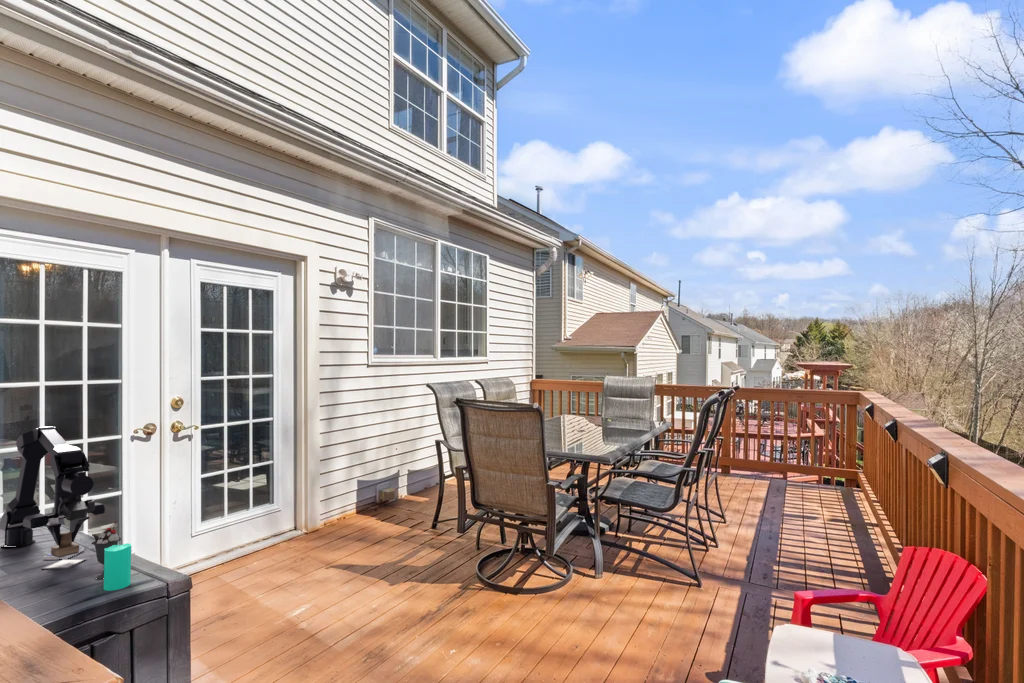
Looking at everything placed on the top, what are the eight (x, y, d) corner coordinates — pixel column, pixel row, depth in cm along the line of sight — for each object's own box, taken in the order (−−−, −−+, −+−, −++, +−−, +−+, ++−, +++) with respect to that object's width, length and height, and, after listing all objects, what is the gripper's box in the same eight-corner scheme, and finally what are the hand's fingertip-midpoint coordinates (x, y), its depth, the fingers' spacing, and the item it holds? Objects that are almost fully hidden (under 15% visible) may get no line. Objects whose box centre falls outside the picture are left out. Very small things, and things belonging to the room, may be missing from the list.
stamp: (51, 555, 160) (51, 534, 160) (71, 550, 164) (71, 529, 165) (58, 557, 158) (59, 536, 158) (78, 552, 162) (79, 532, 162)
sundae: (126, 573, 154) (127, 520, 154) (101, 582, 147) (103, 527, 148) (110, 570, 156) (111, 518, 156) (85, 579, 149) (86, 525, 150)
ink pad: (43, 559, 165) (43, 555, 165) (62, 551, 172) (62, 548, 172) (66, 559, 165) (66, 555, 165) (84, 551, 172) (84, 547, 172)
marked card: (41, 569, 157) (41, 568, 157) (62, 560, 165) (62, 559, 165) (67, 569, 157) (67, 568, 157) (86, 559, 165) (86, 558, 165)
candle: (136, 582, 147) (137, 537, 148) (118, 591, 141) (119, 545, 142) (116, 581, 148) (117, 537, 148) (97, 590, 142) (98, 544, 143)
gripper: (40, 501, 150) (38, 557, 149) (115, 488, 166) (114, 538, 166) (23, 497, 155) (21, 551, 155) (97, 484, 172) (96, 533, 171)
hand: (65, 543), depth 161 cm, fingers closed on stamp, 3 cm apart
